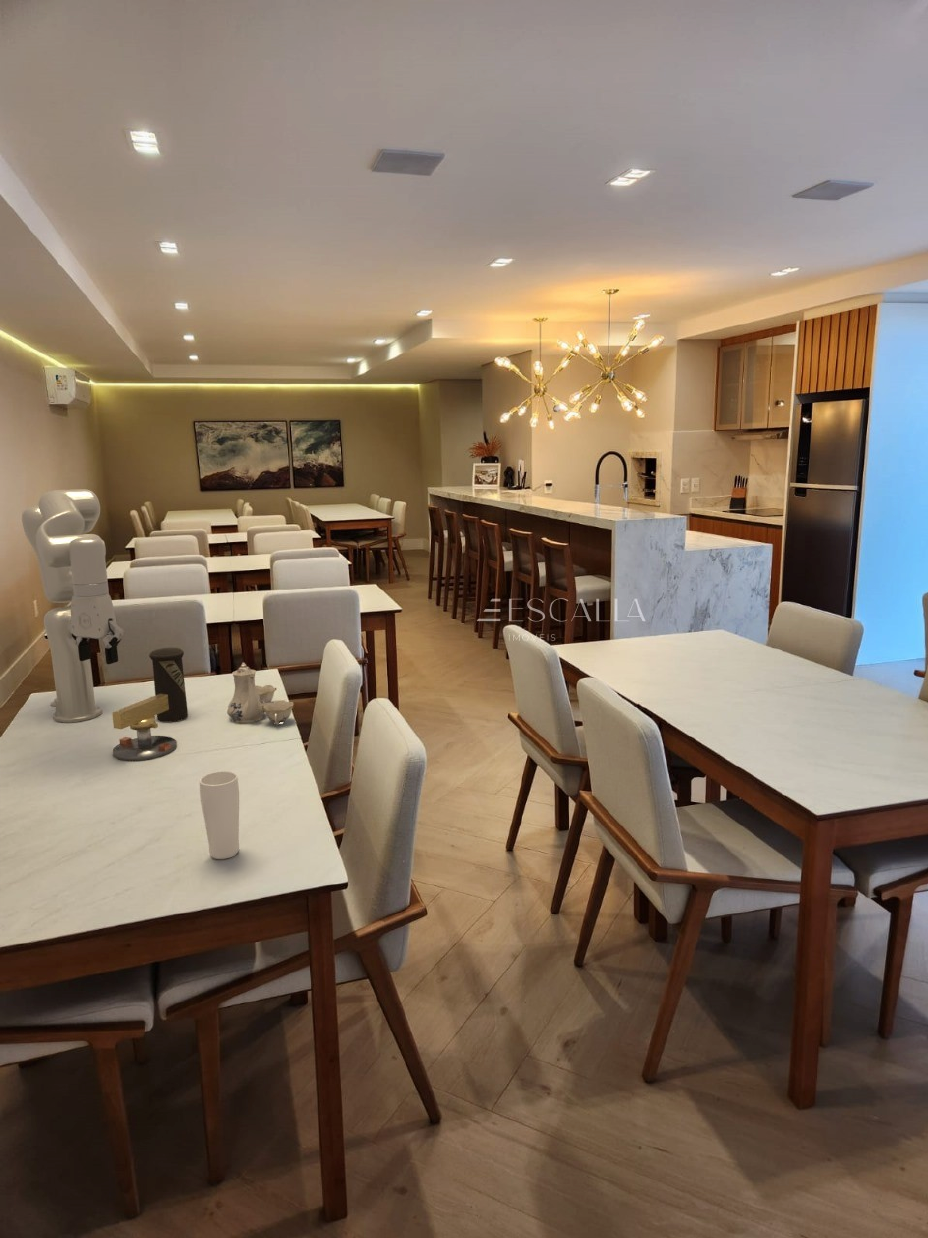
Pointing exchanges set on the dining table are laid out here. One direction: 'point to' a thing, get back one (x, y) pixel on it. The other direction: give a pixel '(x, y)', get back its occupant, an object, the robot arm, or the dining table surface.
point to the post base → (143, 753)
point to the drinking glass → (221, 812)
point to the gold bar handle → (141, 713)
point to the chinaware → (255, 700)
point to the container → (170, 682)
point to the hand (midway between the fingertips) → (99, 661)
